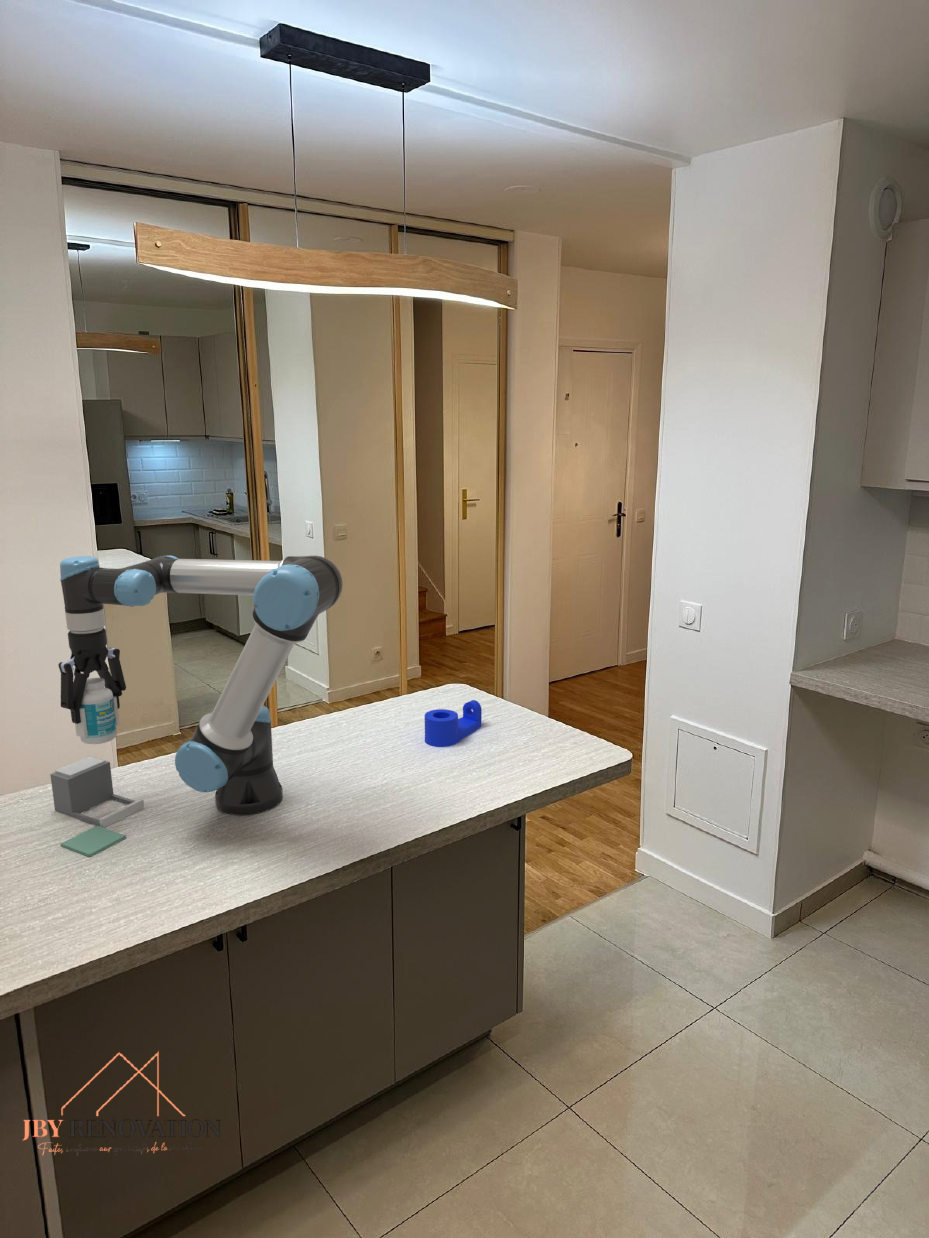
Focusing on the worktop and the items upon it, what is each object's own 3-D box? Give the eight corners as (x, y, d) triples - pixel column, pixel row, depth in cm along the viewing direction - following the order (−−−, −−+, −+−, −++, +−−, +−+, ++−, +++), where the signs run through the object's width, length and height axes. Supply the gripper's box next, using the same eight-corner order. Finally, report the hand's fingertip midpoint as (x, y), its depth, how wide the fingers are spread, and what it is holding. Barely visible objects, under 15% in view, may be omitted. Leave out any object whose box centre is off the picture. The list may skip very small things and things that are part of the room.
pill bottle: (104, 746, 184) (97, 687, 180) (73, 744, 185) (66, 685, 182) (124, 733, 191) (117, 676, 187) (94, 731, 192) (87, 674, 189)
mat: (126, 837, 181) (125, 835, 181) (89, 857, 173) (89, 854, 173) (97, 827, 185) (97, 825, 185) (60, 846, 177) (60, 843, 177)
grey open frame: (144, 807, 194) (140, 768, 192) (103, 828, 185) (98, 787, 182) (96, 792, 202) (92, 754, 199) (55, 810, 192) (49, 771, 190)
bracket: (443, 750, 227) (443, 723, 225) (417, 742, 232) (417, 716, 230) (487, 729, 242) (487, 703, 240) (462, 721, 247) (462, 696, 245)
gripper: (114, 616, 192) (124, 712, 198) (31, 638, 175) (45, 742, 180) (137, 620, 188) (147, 718, 194) (55, 643, 171) (68, 749, 177)
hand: (98, 729), depth 187 cm, fingers closed on pill bottle, 7 cm apart
